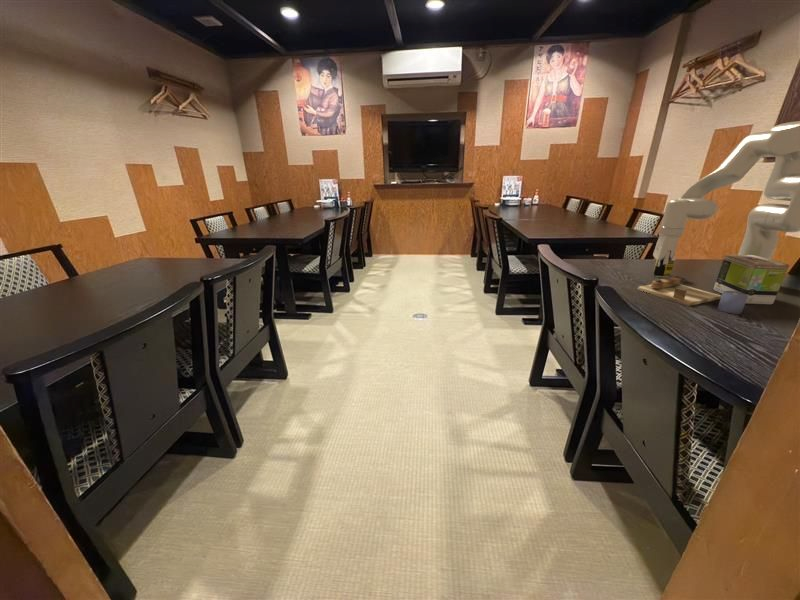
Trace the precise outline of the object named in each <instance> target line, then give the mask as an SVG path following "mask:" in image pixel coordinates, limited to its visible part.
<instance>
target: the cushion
mask: <svg viewBox="0 0 800 600" xmlns="http://www.w3.org/2000/svg"><path fill="white" fill-rule="evenodd" d="M721 296H722V297H721V299H719V302H718V305H717V308H718V309H719V310H718V309H717V310H718V311H721V312H723V311H724V312H723V313H727V314H735V315H737V314H738V315H741V314H742V313H743V310H744V308H745V306H746V304H747V303H746V300H747V298H748V295H746V294H744V293H740V292H734V291H724V292H723V294H722V293H721Z"/></svg>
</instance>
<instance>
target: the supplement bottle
mask: <svg viewBox="0 0 800 600" xmlns="http://www.w3.org/2000/svg"><path fill="white" fill-rule="evenodd" d="M676 253H677V252H676V251H675V254H674V257H673V260H672V261H668V264H667V266H666V269H665V272H664V275H663V276H655V277H656V278H661V279H665V278H671V275H672V271H673V268H674V266H675V261H676V258H675V256H676ZM656 263H657V260H656V261H655V264H654V268H653V272H652V274H653V273H654V269H655V266H657V265H656Z"/></svg>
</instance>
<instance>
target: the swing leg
mask: <svg viewBox="0 0 800 600" xmlns="http://www.w3.org/2000/svg"><path fill="white" fill-rule="evenodd" d="M685 281H686V278H684V277H682V276H670V277H668V278H661V279H660V278H659V279H653V280H652V282H651V284H652V285H651V284H650V285H651V287H652V288H656V289H662V288H665V287H670V286H675V285H684V284H685Z"/></svg>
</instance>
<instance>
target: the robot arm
mask: <svg viewBox="0 0 800 600" xmlns="http://www.w3.org/2000/svg"><path fill="white" fill-rule="evenodd" d="M762 158H775V159H774V160H775V162H774V165H773V168H772V170H771V173H770V176H769V178H768V179H767V182H766V185H765V188H764V193H763V195H764V197H766V198H767V199H769V200H775V201H784V202H785V201H786V202H789V204H784V203H773V202H772V203H770V202H769V203H762V204H759V205H757V206H754V208H752V209H751V210H750V212H749V213H748V216H747V220H746V222H747V223H746V230H745V234H744V237H743V239H742V243H741V245H740V248H739V251H738V254H737V255H756V256H759V257H763V258H767V259H771V260H772V257H773V255H774V252H775V250H776V248H777V245H778V243H779V232H784V233H798V232H800V120H797V121H790V122H789V121H788V122H785V123H784V122H783V123H780V124H777V125H775V126H772V127H771V128H770V129H769V130H767V131H759V132H753V133H751V134H748V135H746V137H744V138H743V139H742V140H741V141H740V142H739V143H738V144H737V145H736V146H735V148H733V150H732V151H731V152H730V153H729V155H728V156H727V157H726V158H725V159H724V160H723V161H722V163H721V164H720V165H719V166H718V167H717V168H716V169H715V170H713V171H712V172H711V173H709V174H707V175H705V176H704V177H701V178H700V179H699V180H698V181H695V183H693V184H692V185H690V186H689V187H688V188H687V189H686V190H685V191H684V192H683V194H682V195H681V196H680V197H679V198H678V199H671V200H668V202H667V203H666V205H665V209H664V213H663V217H662V220H661V224H660V226H659V230H658V239H657V241H656V245H655V248H654V250H653V253H652V256H653V257H654V258H655V260H656V261H657V263H656V262H655V264H656V265H657V266H655V265H654V268H655V269H654V268H653V271H654V273H653V272H652V276H654V277H656V276H663V275H664V272H665V269H666V266H667V264H668V261H672V260H673V257H674V254H675V255H676V253H675V252H676V251H677V246H678V244H679V238H682V237H683V234H684V232H685V231H684V230H685V228H686V224H687V221H688V220H689V219H690V220H707V219H710V218H712V217H714V216H715V215H716V214H717V212H718V209H719V207H718V204H717V203H716V202H715V201H714V200H711V199H707V198H704V197H705V196H707V195H708V194H709V193H711V192H714V191H715V190H718V189H721V188H723V187H727V186H730V185H732V184H735V183H738V182H740V181H741V180H742V179H743V178H744V177H745V176H746V175H747V174H748V172H750V170H751V169H752V168H753V167H754V166H755V165H756V164H757V163H758V162H759V161H760V160H761V159H762ZM674 258H675V257H674Z"/></svg>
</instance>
